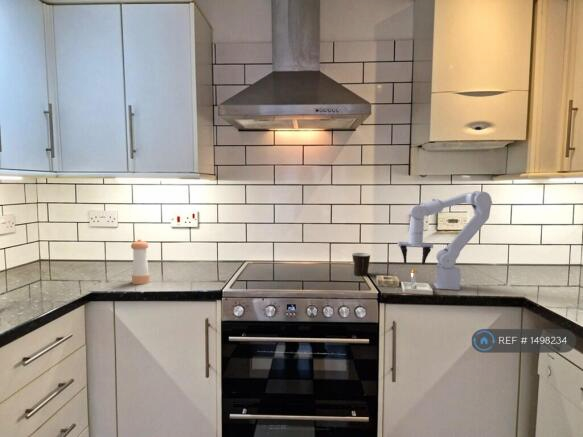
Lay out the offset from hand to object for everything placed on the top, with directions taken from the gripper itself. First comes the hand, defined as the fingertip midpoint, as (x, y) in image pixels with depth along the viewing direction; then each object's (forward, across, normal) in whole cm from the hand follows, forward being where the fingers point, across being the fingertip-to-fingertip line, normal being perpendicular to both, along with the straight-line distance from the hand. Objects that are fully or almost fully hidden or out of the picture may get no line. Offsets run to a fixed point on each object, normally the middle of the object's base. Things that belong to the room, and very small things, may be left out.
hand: (414, 263), depth 162 cm
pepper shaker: (+13, +119, +17) cm, 121 cm away
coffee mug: (+10, +22, -14) cm, 29 cm away
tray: (+10, 0, +8) cm, 13 cm away
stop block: (+10, +11, 0) cm, 15 cm away
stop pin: (+9, +1, +8) cm, 12 cm away
